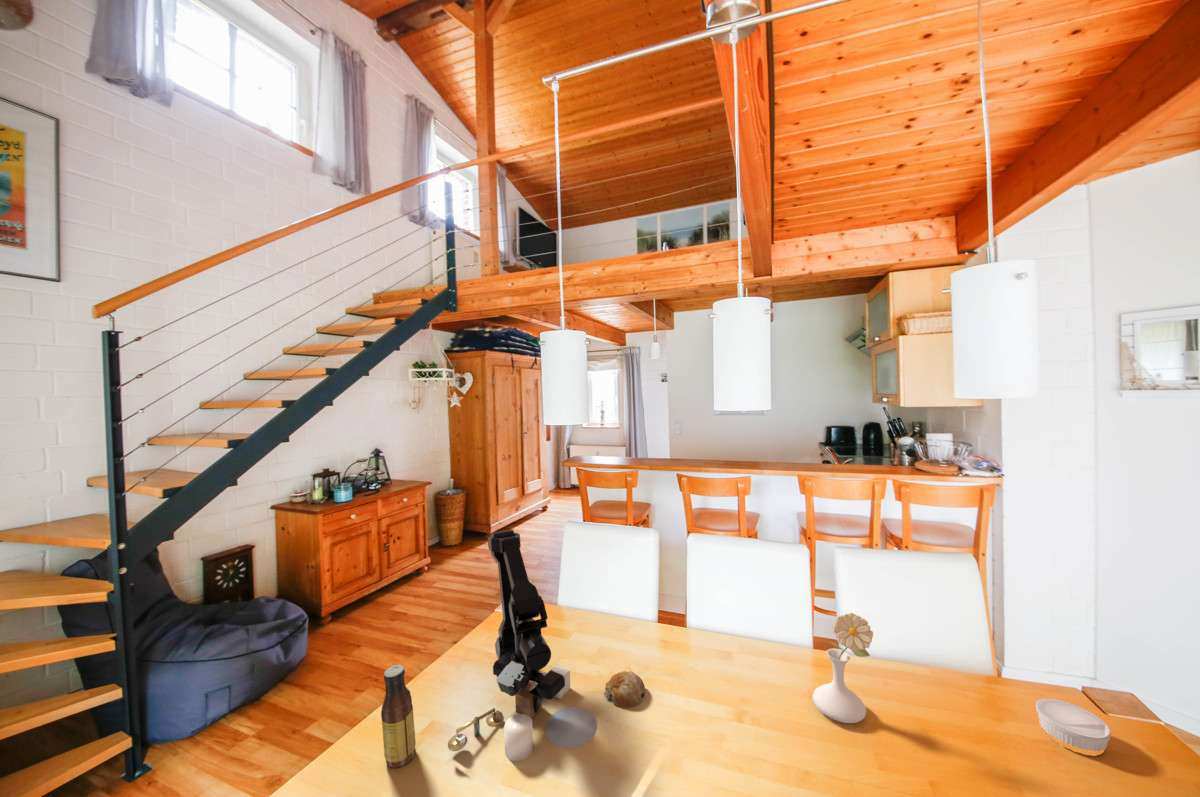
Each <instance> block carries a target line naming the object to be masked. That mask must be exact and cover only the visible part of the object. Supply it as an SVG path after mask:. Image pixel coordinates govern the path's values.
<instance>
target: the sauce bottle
mask: <svg viewBox="0 0 1200 797" xmlns="http://www.w3.org/2000/svg"><path fill="white" fill-rule="evenodd" d="M405 674H406V670H405V666H403V665H402V664H395V665H392V666H390V667H388V668H387V669H386V670H385V671H384V673H383V680H384V683H385V684H384V685H385V695H384V700H383V703H382V706H381V713H380V718H381V727H382V741H383V754H384V759H385V763H386V765H387V766H388V767H390V766H391V767H390V768H393V767H398V768H400V767H401V766H404V765H406V764H408V763H409V762H410V761H411V760H412V759H413V758H414V756H415V755H416V745H417V743H416V732H415V731H416V729H415V720H414V718H415V717H414V706H413V704H412V703H413V701H412V700H413V699H412V694H411V691H410V690H409V688H407V686H406V684H405Z"/></svg>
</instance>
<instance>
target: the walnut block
mask: <svg viewBox="0 0 1200 797" xmlns="http://www.w3.org/2000/svg"><path fill="white" fill-rule="evenodd" d="M534 687H535V683H532V682H530V681H529V682H528V685H527V686H526V688H525V689H524V691H523V692H519V691H518V692H517V694H516V695H514V696H515V713H517V714H525V715H528V716H529V717H530V718H531V719H532V718H533V717H534V716H535V715H536V714H537V713H535V712H534V703H533V695H532V694H530V693H529V692H530V691H531V690H532V689H533V688H534ZM542 708H543V702H542V703H541V706H540V708H539V711H540V710H541V709H542Z"/></svg>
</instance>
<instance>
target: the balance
mask: <svg viewBox="0 0 1200 797" xmlns="http://www.w3.org/2000/svg"><path fill="white" fill-rule="evenodd" d="M484 718H486V719H485V724H486V725H487V726H489V727H496V726H498V725H500V724H501V723H502V722H503V721H504V714H503V712H502V711H500V710H498V709H497V710H496V708H495V707H494V708H491V709H490V710H488V711H486V712H484V713H483V714H481V715H479V716H475V717H474V718H473V720H471V721H469V722H467V723H465V724H464V725H462V726H461V727H459V728H457V729H456V735H453V736H452V737H451V738H450V739H448V741H447V742H448V743H447V749H448V750H449V751H452V752H457V751H460V750H462V749H464V747H466V746H467V744H468V737H467V736H466V734H464V733H463V734H462V733H461V732H462V731H464V730H466V729H467V728H469V727H470V726H472V725H473V732H474V736H473V737H474V738H479V737H480V736H481V732H480V731H481V730H480V724H481V723H480V721H481V720H482V719H484Z"/></svg>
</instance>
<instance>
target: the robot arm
mask: <svg viewBox="0 0 1200 797" xmlns="http://www.w3.org/2000/svg"><path fill="white" fill-rule="evenodd" d="M521 545H522V544H521V534H520V533H518V532H515V531H514V529H508V530H507V529H506V530H500V531H496V532H492V533H491V536H489V537H488V538H487V547H488V550H489V551H490V554H491V557H492V559H493V560H494V561H495V563H496V564H497V568H498V570H497V571H498V578H499V591H500V600H501V611H502V620H501V623H500V625H499V627H498V637H497V638H496V641H495V642H494V648H495V649H494V650H495V654H496V657H497V660H495V661H494V662H493V665H492V672H493V673H492V674H493V675H494V676H496V683H497V684H498V688H499V690H500V692H502V693H505V694H507V695H508V696H510V697H514V696H515V695H516V694H517V692H518V691H519V692H523V691H524V689H525V688H526V686H527V685H528V682H529V683H531V684H534V685H535V687H534V688H533V689H532V690H531V691H530V692H529V693H530V694H532V695H533V703H534V712H535V713H536V714H537V713H538V712H539V711H540V710H539V708H540V706H541V703H542V704H543V701H544V699H546V700H548V701H549V700H552V699H553V698H554V697H555V695H556V694H557V693H558V692H559V691H560V690H561V689H562V688H563V687H564V686H565V678H564V676H563V675H561V674H559V673H556V672H554V671H552V670H551V669H550V670H551V671H550V670H549V671H547V672H542V671H541V672H540V670H542V669H544V668H545V667H546V666H548V664H549V663H550V661H551V658H552V651H551V648H550V646H549V645H548V643H547V642H546V639H545V638H544V635H543V634H542V629H544V628H547V627H548V623H547V621H548V613H547V610H546V606H545V602H544V599H543V597H542V596H541V595H540V594H539V591H538V590H537V587H536V586H535V585H534V584H533V583H532V582H531V581H530V580H529V576H528V573H527V570H526V566H525V563H524V562H525V561H524V559H523V556H522V551H521ZM539 616H540V617H539ZM534 618H538V619H536V620H535V619H534ZM539 618H540V619H539Z"/></svg>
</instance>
